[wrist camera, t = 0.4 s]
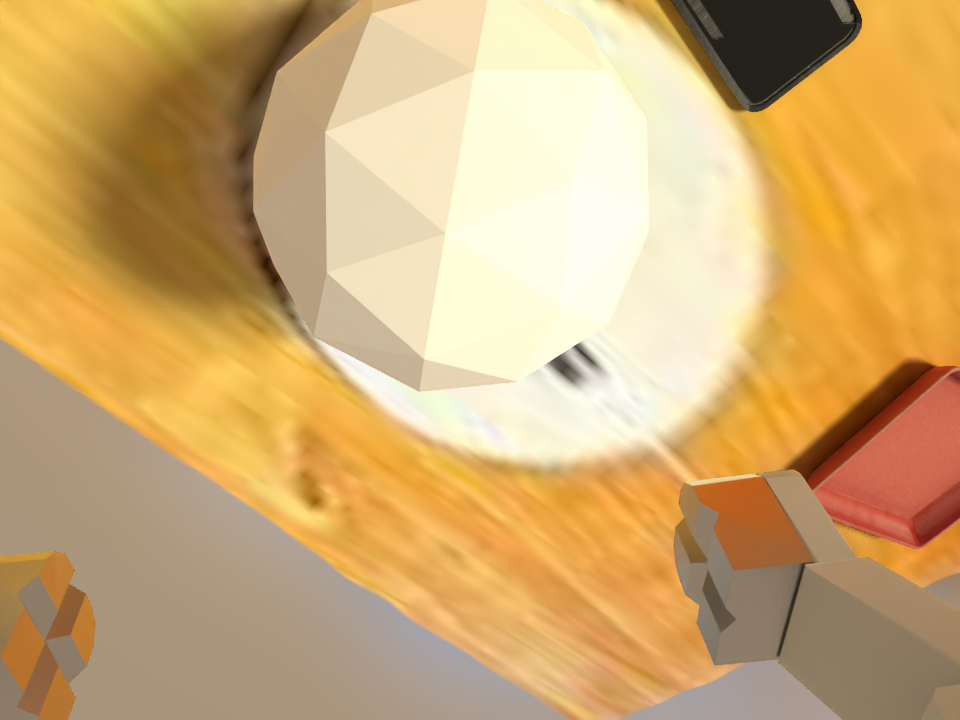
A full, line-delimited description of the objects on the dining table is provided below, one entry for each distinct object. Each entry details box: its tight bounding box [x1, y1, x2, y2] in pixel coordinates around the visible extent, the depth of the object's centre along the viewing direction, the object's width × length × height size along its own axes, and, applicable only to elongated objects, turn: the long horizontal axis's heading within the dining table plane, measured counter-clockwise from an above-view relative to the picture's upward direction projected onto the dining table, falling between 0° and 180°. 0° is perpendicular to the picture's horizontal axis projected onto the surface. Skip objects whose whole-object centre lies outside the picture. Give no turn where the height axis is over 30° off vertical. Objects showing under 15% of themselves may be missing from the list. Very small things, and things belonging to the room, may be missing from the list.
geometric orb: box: [253, 0, 649, 392], centre depth 39 cm, size 19×20×20 cm
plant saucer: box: [807, 366, 960, 549], centre depth 71 cm, size 18×18×3 cm
